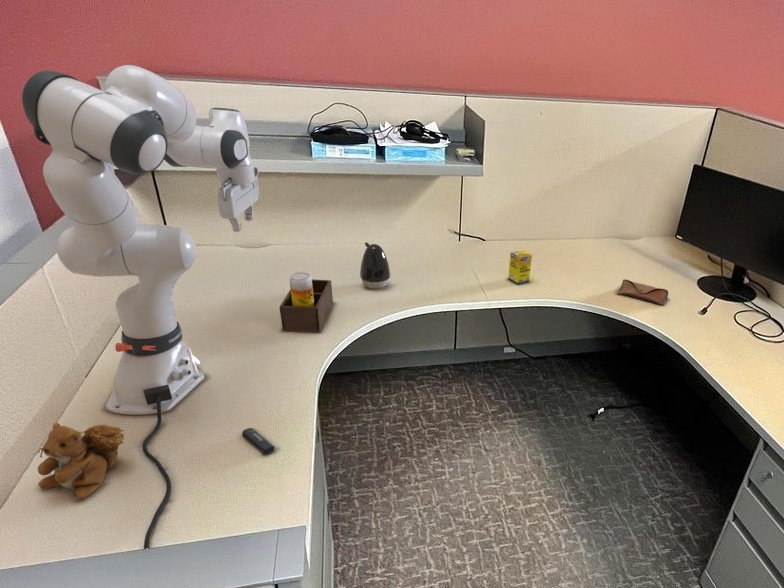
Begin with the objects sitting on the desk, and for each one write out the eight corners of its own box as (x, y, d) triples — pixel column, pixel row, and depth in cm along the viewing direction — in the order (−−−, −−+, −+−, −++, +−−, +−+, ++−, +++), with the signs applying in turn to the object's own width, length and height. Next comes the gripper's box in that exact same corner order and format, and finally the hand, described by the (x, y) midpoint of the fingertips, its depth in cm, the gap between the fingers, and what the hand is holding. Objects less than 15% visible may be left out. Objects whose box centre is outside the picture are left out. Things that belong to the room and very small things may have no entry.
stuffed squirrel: (34, 490, 106) (9, 436, 99) (105, 447, 118) (86, 395, 111) (72, 507, 104) (49, 453, 97) (141, 461, 115) (124, 409, 108)
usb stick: (276, 450, 122) (275, 444, 121) (265, 456, 120) (264, 450, 119) (252, 430, 126) (251, 425, 126) (241, 436, 125) (240, 430, 124)
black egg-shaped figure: (379, 277, 204) (378, 237, 197) (396, 287, 198) (395, 246, 191) (354, 283, 198) (352, 242, 190) (371, 294, 192) (369, 251, 184)
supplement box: (517, 285, 210) (520, 257, 204) (507, 279, 214) (510, 252, 208) (529, 281, 214) (532, 254, 208) (519, 276, 217) (521, 249, 212)
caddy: (319, 332, 166) (317, 308, 162) (282, 331, 165) (279, 306, 161) (333, 302, 184) (331, 280, 180) (299, 301, 183) (296, 278, 179)
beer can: (309, 327, 167) (304, 281, 159) (290, 324, 168) (284, 277, 160) (319, 319, 172) (315, 273, 164) (301, 315, 173) (296, 270, 165)
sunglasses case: (616, 293, 210) (621, 276, 210) (618, 296, 217) (623, 280, 217) (664, 305, 205) (669, 287, 205) (664, 308, 212) (669, 291, 211)
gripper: (234, 184, 139) (242, 238, 146) (260, 166, 157) (266, 215, 164) (207, 182, 138) (217, 237, 145) (236, 164, 156) (244, 214, 163)
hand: (243, 225), depth 155 cm, fingers open, 8 cm apart
